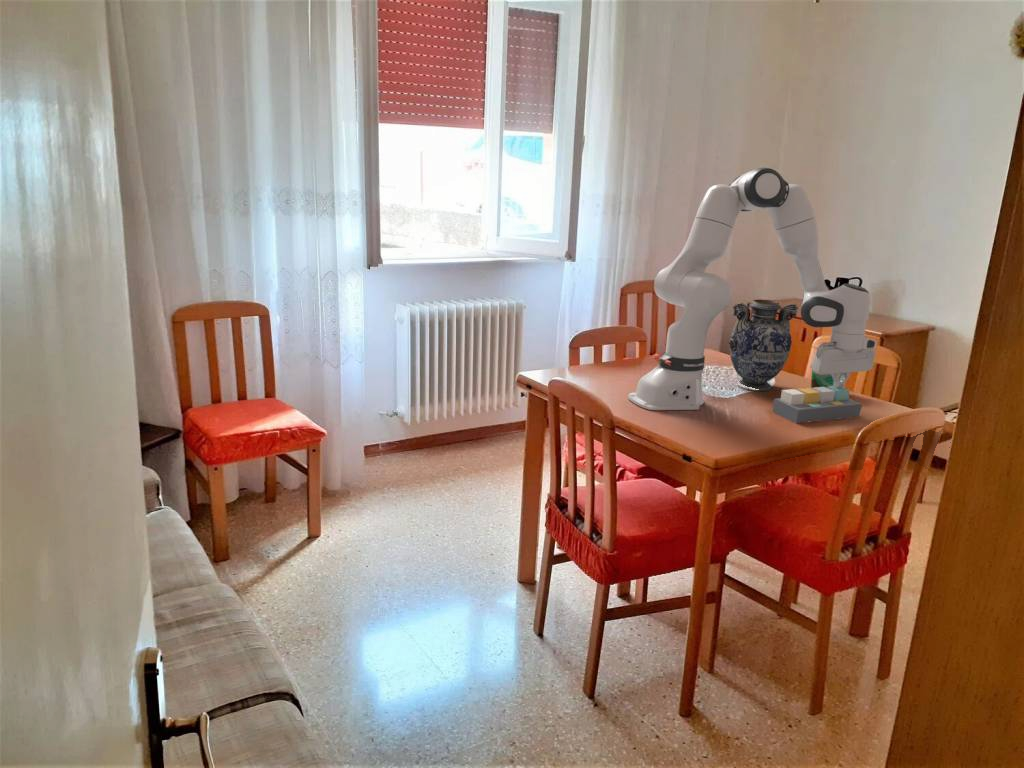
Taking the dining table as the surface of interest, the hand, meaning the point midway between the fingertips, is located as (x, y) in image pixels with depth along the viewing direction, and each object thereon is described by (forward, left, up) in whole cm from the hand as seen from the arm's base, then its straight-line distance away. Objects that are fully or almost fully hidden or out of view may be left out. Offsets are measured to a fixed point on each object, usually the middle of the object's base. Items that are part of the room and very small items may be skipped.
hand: (838, 386), depth 220 cm
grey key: (-6, 0, -4) cm, 7 cm away
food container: (+10, +13, -8) cm, 19 cm away
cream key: (-17, 0, -4) cm, 17 cm away
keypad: (-9, -2, -7) cm, 11 cm away
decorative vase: (-9, +26, -8) cm, 29 cm away
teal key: (0, 0, -4) cm, 4 cm away
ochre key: (-11, 0, -4) cm, 12 cm away
